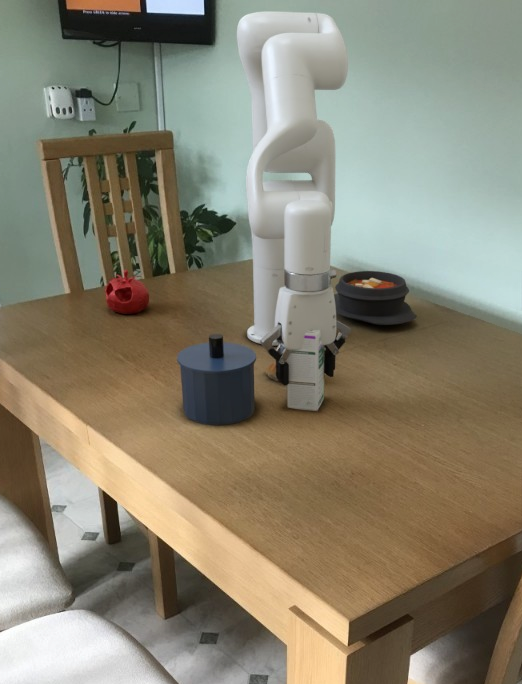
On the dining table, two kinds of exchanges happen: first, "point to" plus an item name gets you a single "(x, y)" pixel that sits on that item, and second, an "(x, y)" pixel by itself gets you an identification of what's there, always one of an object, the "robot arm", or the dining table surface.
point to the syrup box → (307, 374)
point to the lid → (216, 356)
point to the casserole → (373, 298)
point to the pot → (218, 396)
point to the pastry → (272, 371)
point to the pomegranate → (126, 295)
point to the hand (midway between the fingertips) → (305, 378)
